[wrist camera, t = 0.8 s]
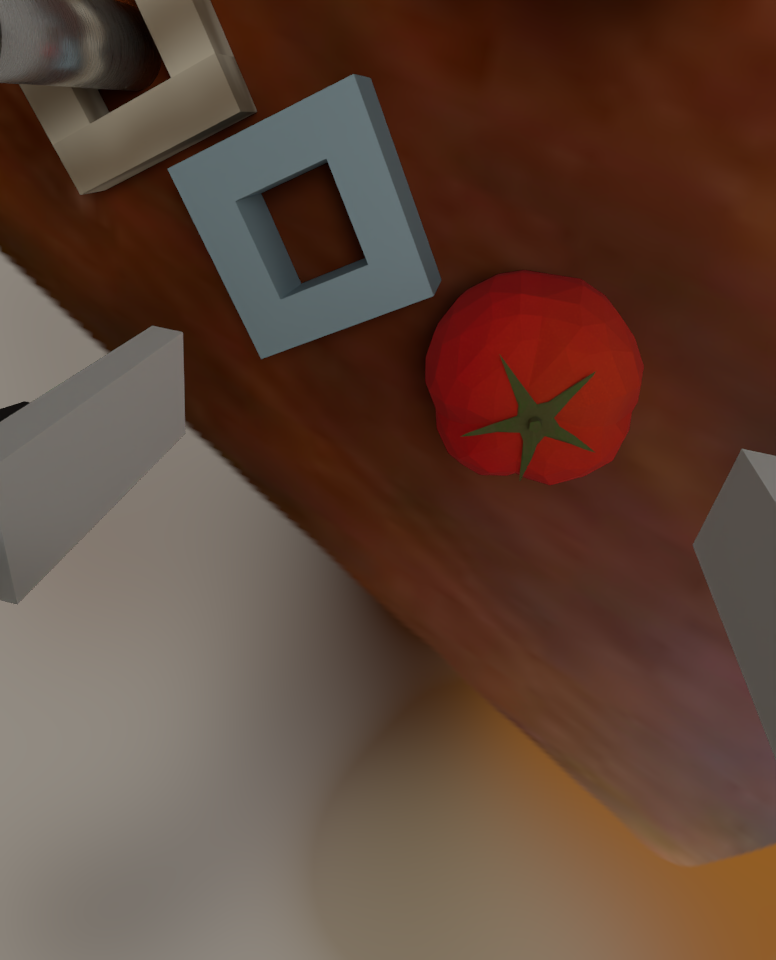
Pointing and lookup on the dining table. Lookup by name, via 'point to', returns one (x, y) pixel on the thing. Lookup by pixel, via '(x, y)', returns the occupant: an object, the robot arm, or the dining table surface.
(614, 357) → the tomato
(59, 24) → the pin
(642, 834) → the dining table surface
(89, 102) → the beige square frame
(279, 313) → the socket
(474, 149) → the dining table surface
